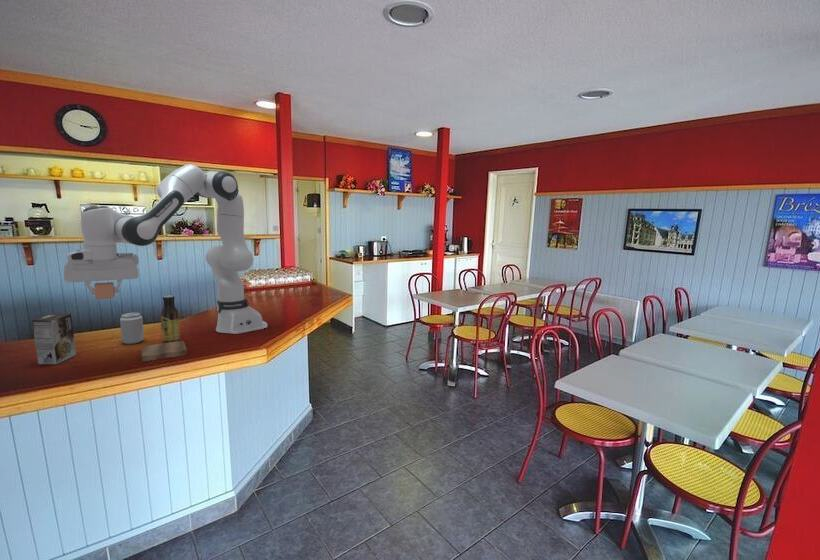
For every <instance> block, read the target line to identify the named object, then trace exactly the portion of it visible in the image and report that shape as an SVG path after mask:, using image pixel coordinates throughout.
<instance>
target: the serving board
mask: <svg viewBox="0 0 820 560" xmlns="http://www.w3.org/2000/svg"><path fill="white" fill-rule="evenodd" d="M187 349H188V348H187V347H186V343H185V341H184V340H179V341H177V342H169V343H163V342H162V343H155V344H149V345H141V361H142V363H144V362H150V361H151V360H152V361H156V360H157V359H158V360H165V359H171V358H177V357H182V356H188V350H187ZM170 357H171V358H170ZM164 358H165V359H164Z"/></svg>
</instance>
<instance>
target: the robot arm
mask: <svg viewBox="0 0 820 560" xmlns="http://www.w3.org/2000/svg"><path fill="white" fill-rule="evenodd" d="M156 191H157V195H158V197H159V198H160V200H158V201H157V203H156V204H155V205H153V206H152V207H151V208H150V209H149V210H148V212H146V213H144V214H142V215H138V216H129V215H126V214H124V213H120V212H118V211H116V210H114V209H112V208H111V207H109V206H107V205H99V206H90V207H86V208H84V209H83V210H82V212H81V215H80V220H81V221H80V225H81V226H80V227H81V234H82V236H83V244H82V247H83V249H79V250H78V249H77V250H75V251H73V252H72V251H71V252H69V253H67V254H66V260H67V262H66V263H65V264H64V268H63V280H64V281H65V282H67V283H80V282H81V283H83V282H84V285H85V286H86V288H87V289H89V294H90V295H95V289H94V288H93V287H92V286H91V284H92V283H91V282H101V281H102V282H103V281H116V283H117V285H116V286H114V288H113V289H114V293H115V294H116V293H120V286H121V285H122V284H123V280H134V279H138V278H139V276H140V274H139V269H138V264H139V262H140V260H139V257H138V255H137V254H134V253H132V252H129V253H128V252H126V253H123V252H121V253H120V252H118V248H117V242H119V243H120V242H121V243H126V244H132V245H133V246H134V245H135V246H139V247H140V246H141V247H145V246H150V245H151V244H153V243H154V242H155V241H156V240H157V239H158V237H159V234H160V232H161V230H162V228H163V227H164V225H166V223H168V221H170V219H171V218H172V217H174V215H175V214H176V213H177V212H178V211H179V210H180V209H181V207H182V206H183V205H184V204H185V203H186V202H188V201H189V200H190V199H191V198H193V196H195V195H197V196H198V197H201V198H204V199H205V198H206V199H207V198H209V199H215V201H216V205H217V208H216V209H217V211H216V233H217V234H218V235H219V238H220V239H221V242H222V243H221V244H222V245H217V246H212V247H210V248H209V249H208V250H207V251H206V252H205V262H206V263H207V264H208V266H210V268H211V271H212V273H213V275H214V279H215V283H216V287H217V288H216V289H217V301H216V309H217V313H218V315H217V323H216V324H217V325H216V328H215V331H216V332H217V333H221V334H233V335H239V334H243V333H249V332H252V331H253V332H254V331H259V330H265V329H267V328H268V322H266V321H264V320H263V316H262V314H261V313H260V312H259V311H258V310H256V309H254V308H253V307H251V305H252V301H251V300H249V299H247V298H245V287H244V286H245V285H244V281H243V280H242V279H241V278H240V276H239V273H238V272H245V271H248V270H249V269H251V267H252V266H253V264H254V256H253V253H252V252H251V251H250V250H249V248H248V245H247V243H246V239H245V233H244V232H245V231H244V230H245V229H244V227H245V207H244V199H243V196H242V195H241V194H240V193H239V184H238V181H237V179H236V177H235V176H234V175H233V174H232V173H230V172H226V171H216V170H215V171H208V172H204V171H203V170H202V169H201V168H200V167H199V166H197V165H196V164H190V163H189V164H185V165H183V166H180V167H179V168H177V169H175V170H174V171H172V172H171V173H168V175H166V176H165V177H164V178H163V179H161V181H160V182H159V184H158V185H157V186H156ZM264 328H265V329H264Z"/></svg>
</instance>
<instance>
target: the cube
mask: <svg viewBox="0 0 820 560" xmlns="http://www.w3.org/2000/svg"><path fill="white" fill-rule="evenodd" d="M93 287H94V289H95V294H94V297H95V300H108V299H115V297H116V292H115V293H114V289H113V288H114V287H115V284H114V281H109V282H95V283H94V285H93Z"/></svg>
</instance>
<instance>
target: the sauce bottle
mask: <svg viewBox="0 0 820 560" xmlns="http://www.w3.org/2000/svg"><path fill="white" fill-rule="evenodd" d="M175 298H176V297H175V295H173V294H170V295H168V294H167V295H163V296H162V300H163V307H162V311H161V314H160V326H161V339H162V343H169V342H177V341H180V320H179V310H178V309H177V308H176V305H175Z"/></svg>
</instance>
